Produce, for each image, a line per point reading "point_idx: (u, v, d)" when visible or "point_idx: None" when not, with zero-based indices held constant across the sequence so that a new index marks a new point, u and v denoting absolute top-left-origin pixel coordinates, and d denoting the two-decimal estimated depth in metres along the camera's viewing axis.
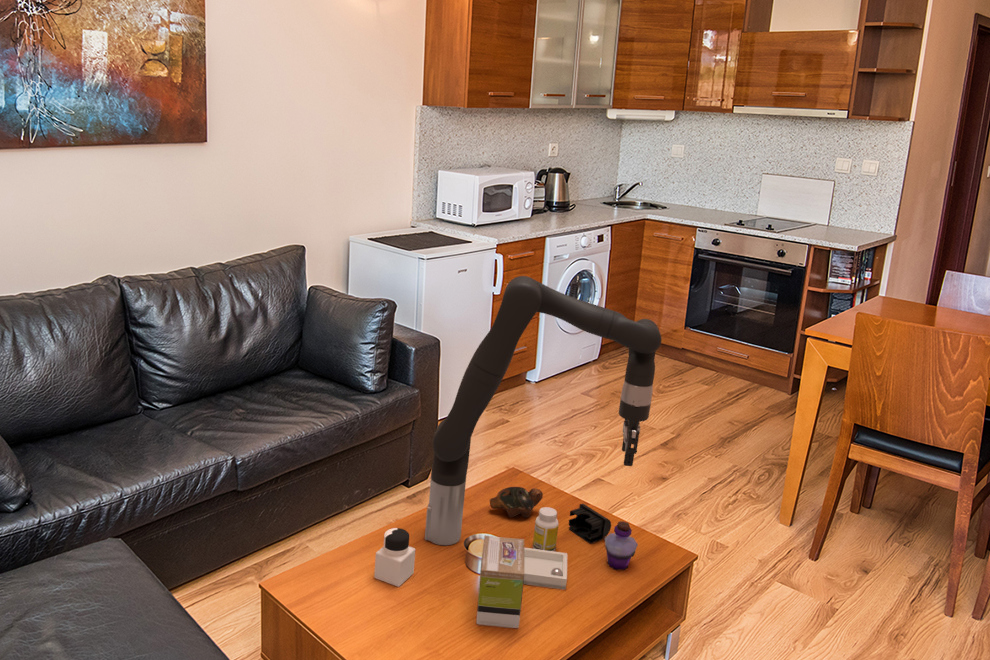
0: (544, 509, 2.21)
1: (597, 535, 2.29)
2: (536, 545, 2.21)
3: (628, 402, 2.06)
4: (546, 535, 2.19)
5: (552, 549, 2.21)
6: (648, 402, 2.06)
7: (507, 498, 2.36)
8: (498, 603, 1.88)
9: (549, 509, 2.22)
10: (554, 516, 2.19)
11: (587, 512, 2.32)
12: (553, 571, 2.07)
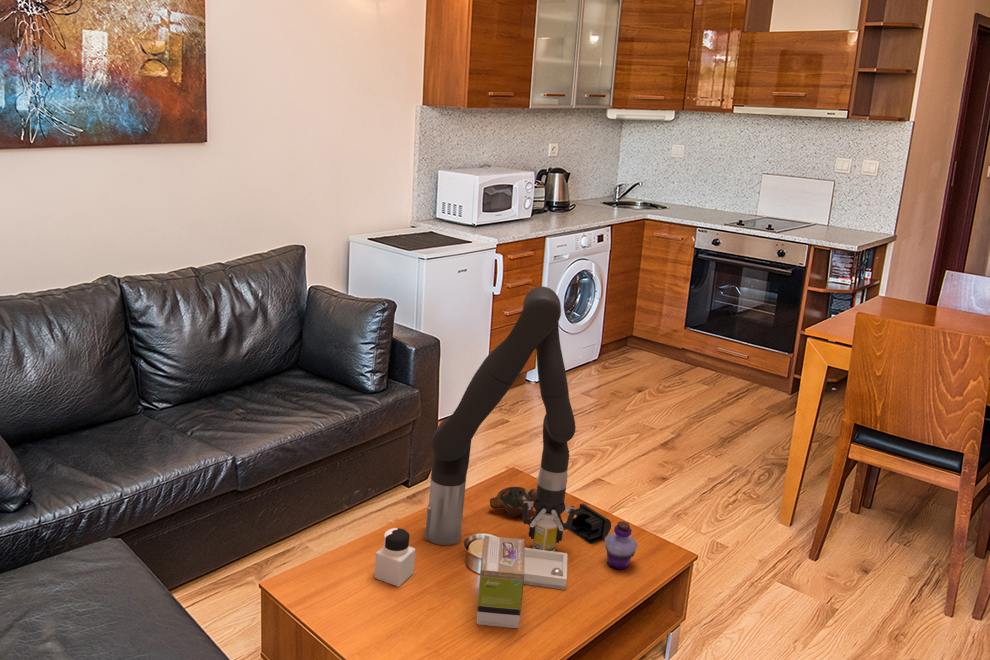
0: None
1: (597, 535, 2.29)
2: (536, 545, 2.21)
3: (563, 488, 2.16)
4: (546, 535, 2.19)
5: (552, 549, 2.21)
6: None
7: (507, 498, 2.36)
8: (498, 603, 1.88)
9: None
10: None
11: (587, 512, 2.32)
12: (553, 571, 2.07)
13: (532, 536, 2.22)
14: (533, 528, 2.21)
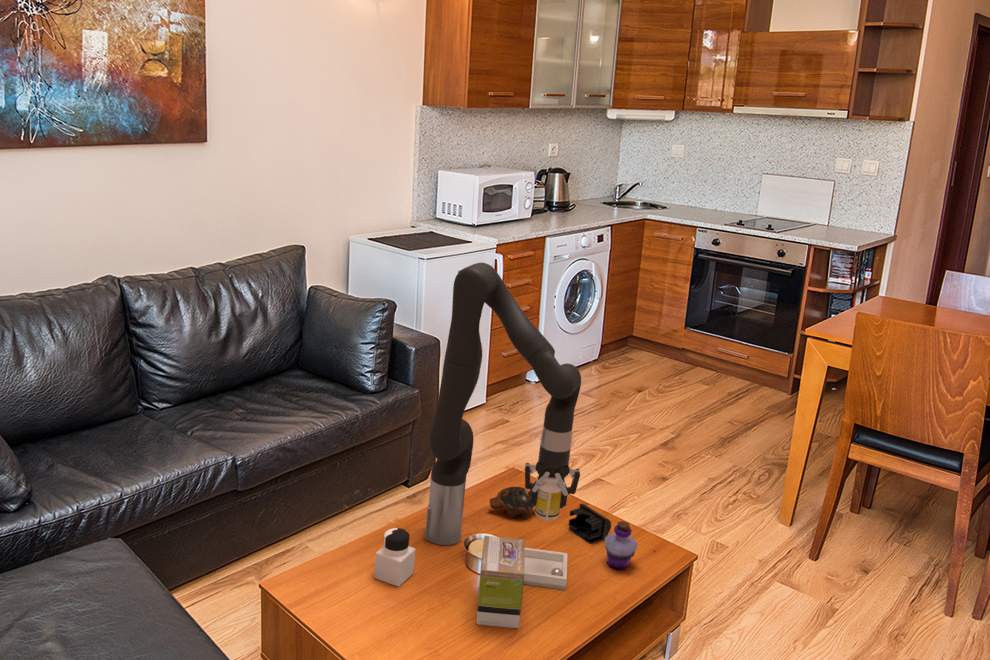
0: None
1: (597, 535, 2.29)
2: (539, 511, 2.08)
3: (568, 449, 2.03)
4: (550, 500, 2.06)
5: (556, 515, 2.08)
6: None
7: (507, 498, 2.36)
8: (498, 603, 1.88)
9: None
10: None
11: (587, 512, 2.32)
12: (553, 571, 2.07)
13: (534, 502, 2.09)
14: (535, 493, 2.08)
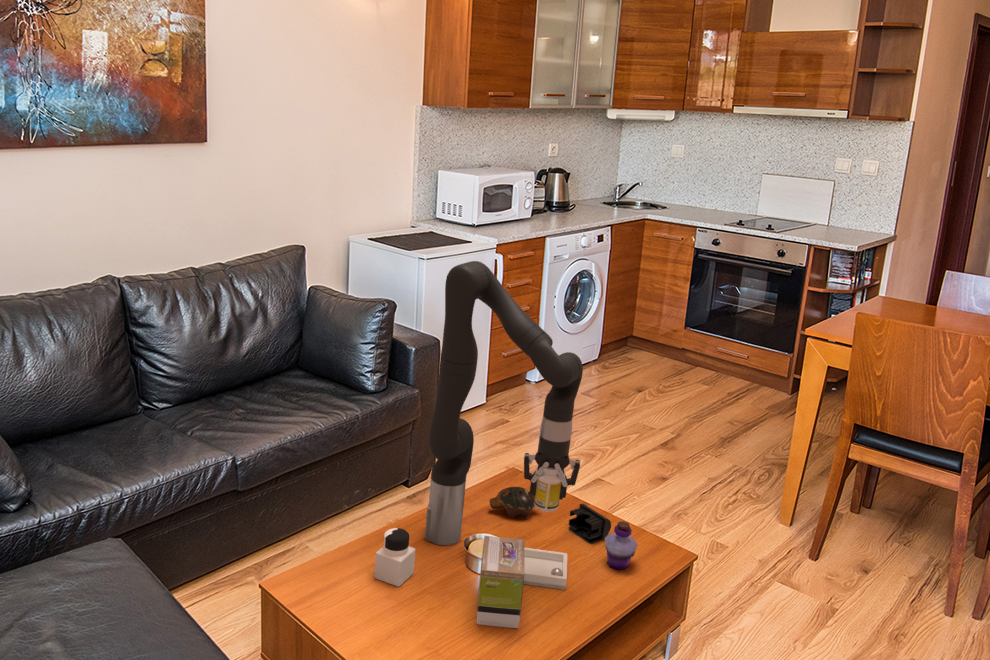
0: None
1: (597, 535, 2.29)
2: (538, 502, 2.04)
3: (568, 439, 1.99)
4: (549, 491, 2.02)
5: (555, 507, 2.04)
6: None
7: (507, 498, 2.36)
8: (498, 603, 1.88)
9: None
10: (557, 470, 2.02)
11: (587, 512, 2.32)
12: (553, 571, 2.07)
13: (533, 492, 2.05)
14: (535, 484, 2.04)
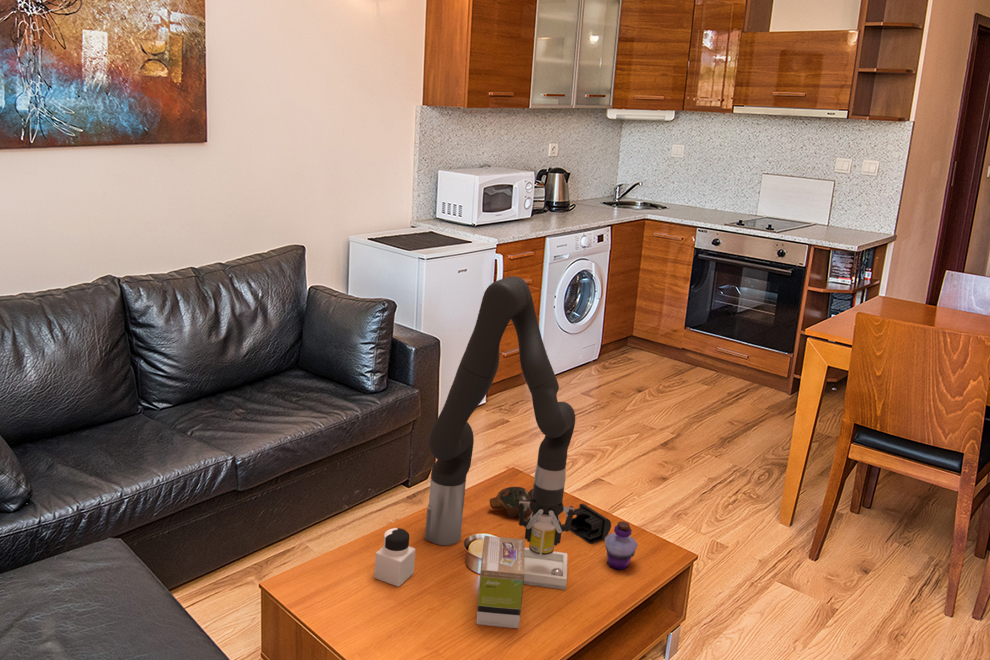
0: None
1: (597, 535, 2.29)
2: (533, 548, 2.08)
3: (561, 487, 2.03)
4: (543, 537, 2.06)
5: (550, 552, 2.08)
6: None
7: (507, 498, 2.36)
8: (498, 603, 1.88)
9: None
10: None
11: (587, 512, 2.32)
12: (553, 571, 2.07)
13: (528, 538, 2.09)
14: (529, 530, 2.08)
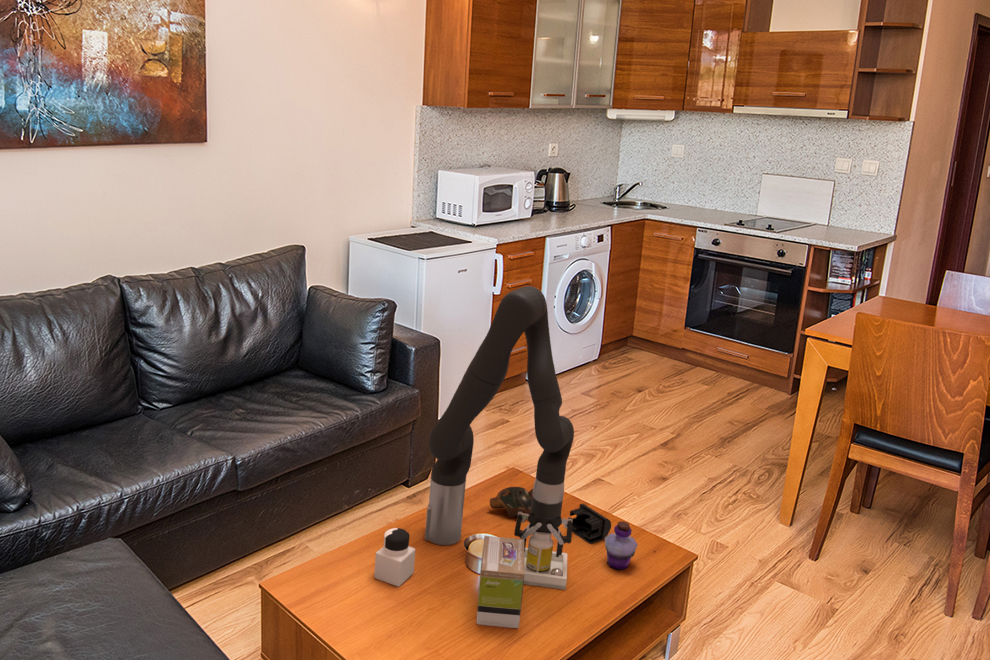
0: None
1: (597, 535, 2.29)
2: (529, 566, 2.09)
3: (560, 500, 2.04)
4: (540, 555, 2.07)
5: (546, 570, 2.09)
6: None
7: (507, 498, 2.36)
8: (498, 603, 1.88)
9: None
10: (548, 535, 2.07)
11: (587, 512, 2.32)
12: (553, 571, 2.07)
13: None
14: (525, 540, 2.09)
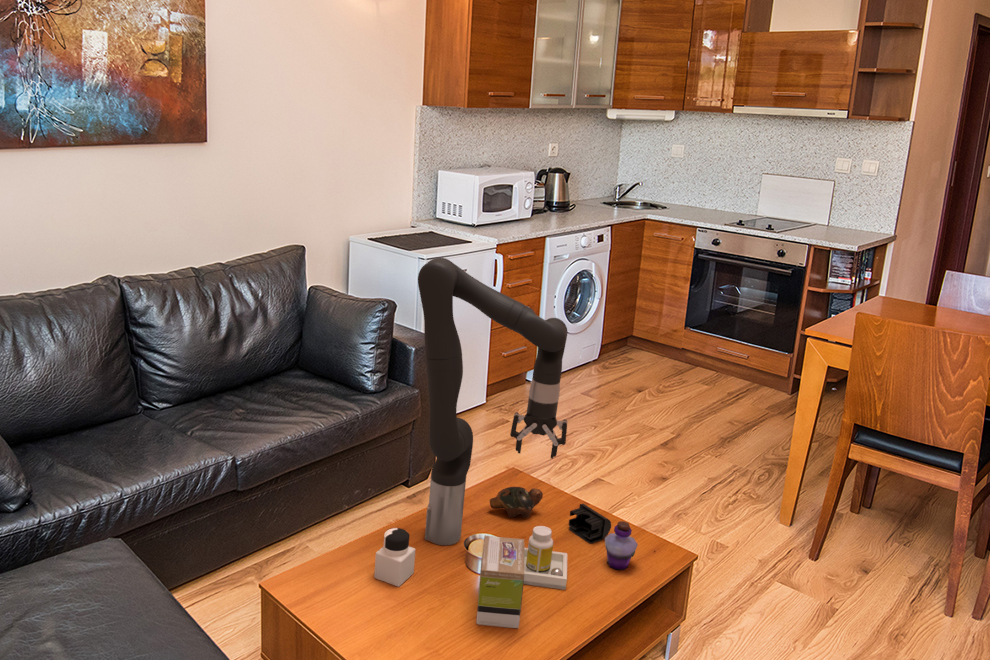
0: (538, 528, 2.10)
1: (597, 535, 2.29)
2: (529, 566, 2.09)
3: (555, 401, 2.09)
4: (540, 555, 2.07)
5: (546, 570, 2.09)
6: None
7: (507, 498, 2.36)
8: (498, 603, 1.88)
9: (543, 528, 2.10)
10: (548, 535, 2.07)
11: (587, 512, 2.32)
12: (553, 571, 2.07)
13: (519, 450, 2.15)
14: (520, 441, 2.14)
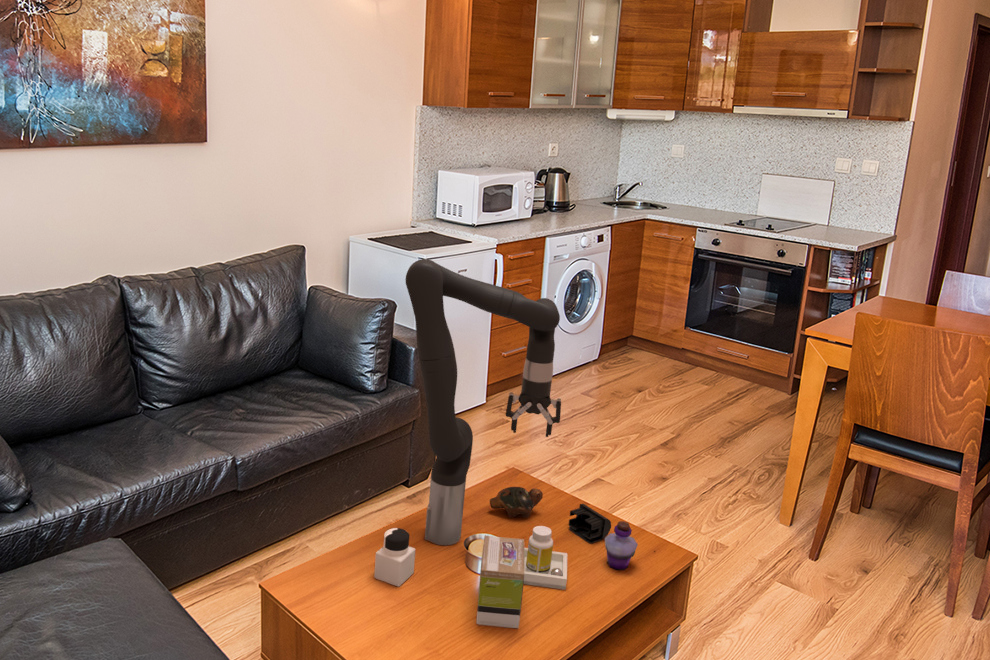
0: (538, 528, 2.10)
1: (597, 535, 2.29)
2: (529, 566, 2.09)
3: (549, 380, 2.14)
4: (540, 555, 2.07)
5: (546, 570, 2.09)
6: None
7: (507, 498, 2.36)
8: (498, 603, 1.88)
9: (543, 528, 2.10)
10: (548, 535, 2.07)
11: (587, 512, 2.32)
12: (553, 571, 2.07)
13: (514, 429, 2.19)
14: (515, 421, 2.19)
